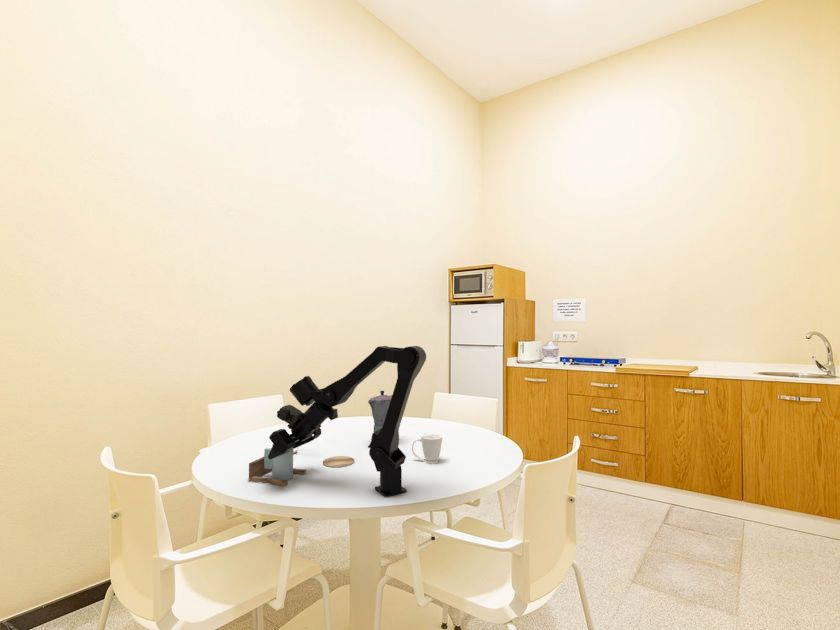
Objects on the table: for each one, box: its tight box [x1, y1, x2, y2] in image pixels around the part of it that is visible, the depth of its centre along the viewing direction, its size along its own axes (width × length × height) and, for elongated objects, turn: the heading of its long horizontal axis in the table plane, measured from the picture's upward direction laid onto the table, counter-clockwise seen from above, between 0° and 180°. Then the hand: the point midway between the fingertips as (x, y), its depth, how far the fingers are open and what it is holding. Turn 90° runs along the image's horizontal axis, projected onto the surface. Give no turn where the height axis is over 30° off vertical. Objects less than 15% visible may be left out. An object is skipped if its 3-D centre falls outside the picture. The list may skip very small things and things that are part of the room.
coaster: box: [322, 455, 355, 468], centre depth 136 cm, size 10×10×1 cm
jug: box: [263, 444, 294, 481], centre depth 122 cm, size 9×6×10 cm, turn 73°
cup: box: [411, 433, 443, 464], centre depth 137 cm, size 7×10×8 cm
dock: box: [248, 456, 307, 487], centre depth 122 cm, size 12×10×5 cm
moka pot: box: [367, 390, 393, 433], centre depth 159 cm, size 10×15×20 cm, turn 135°
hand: (278, 453), depth 122 cm, fingers open, 9 cm apart
